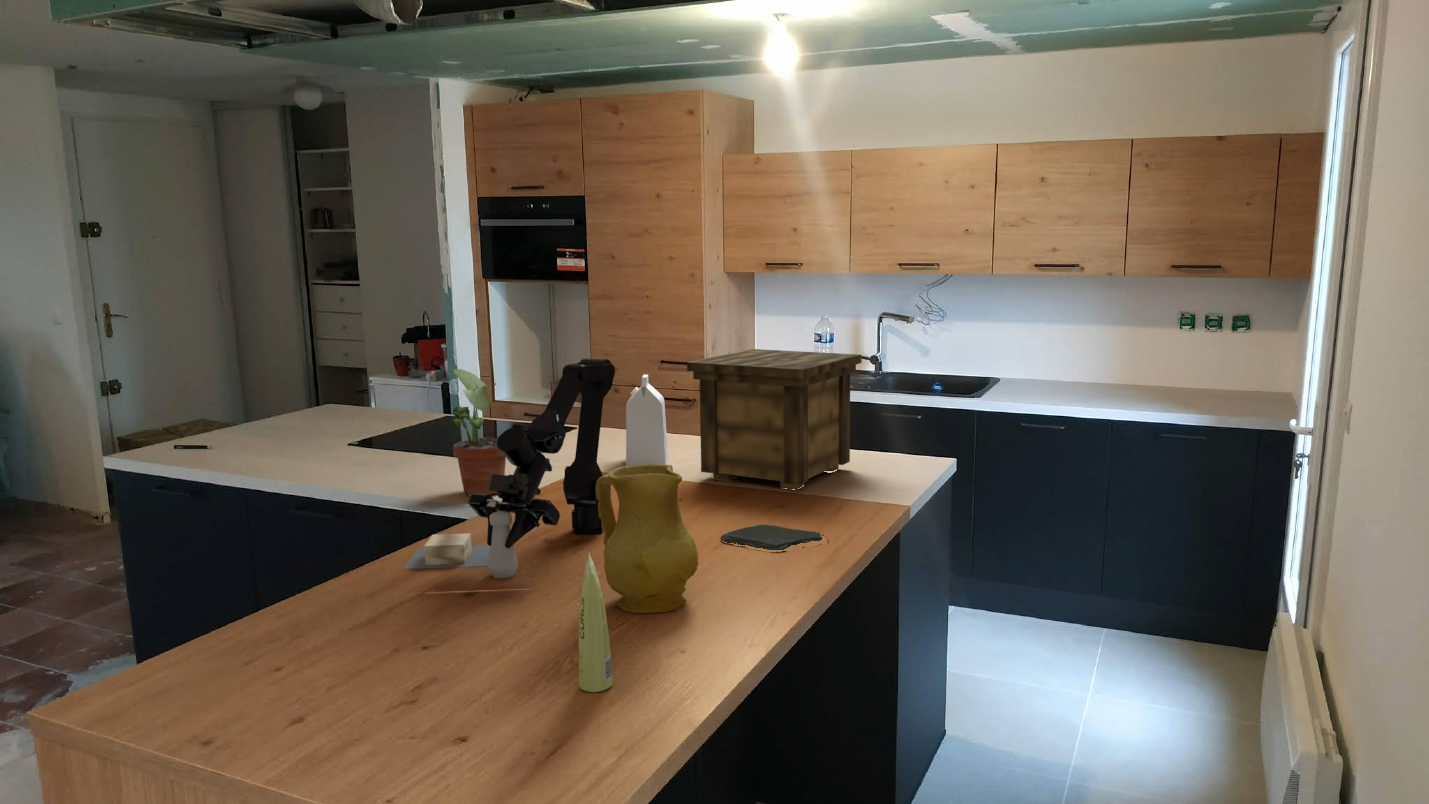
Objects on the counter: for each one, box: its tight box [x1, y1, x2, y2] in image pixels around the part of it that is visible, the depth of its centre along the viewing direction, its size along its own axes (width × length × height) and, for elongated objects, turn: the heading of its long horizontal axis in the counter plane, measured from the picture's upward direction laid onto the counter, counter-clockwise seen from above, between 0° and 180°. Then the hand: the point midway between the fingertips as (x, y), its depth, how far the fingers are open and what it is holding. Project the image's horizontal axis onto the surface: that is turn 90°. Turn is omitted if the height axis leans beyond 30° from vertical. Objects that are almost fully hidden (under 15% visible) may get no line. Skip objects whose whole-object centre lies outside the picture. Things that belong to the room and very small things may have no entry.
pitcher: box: [596, 464, 699, 614], centre depth 181 cm, size 17×19×25 cm
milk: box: [625, 374, 669, 466], centre depth 294 cm, size 12×12×26 cm
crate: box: [686, 348, 863, 491], centre depth 275 cm, size 35×35×33 cm
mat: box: [403, 544, 490, 570], centre depth 210 cm, size 18×14×1 cm
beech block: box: [423, 532, 473, 565], centre depth 208 cm, size 8×8×4 cm
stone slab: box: [720, 524, 825, 550], centre depth 217 cm, size 24×17×2 cm
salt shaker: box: [487, 511, 519, 580], centre depth 196 cm, size 6×6×13 cm
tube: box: [578, 552, 613, 693], centre depth 147 cm, size 6×5×20 cm
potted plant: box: [451, 368, 507, 496], centre depth 260 cm, size 16×15×35 cm
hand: (497, 546), depth 195 cm, fingers open, 4 cm apart
